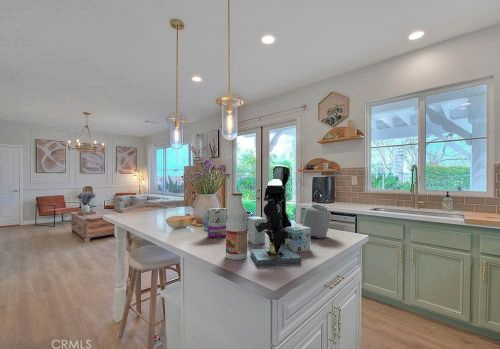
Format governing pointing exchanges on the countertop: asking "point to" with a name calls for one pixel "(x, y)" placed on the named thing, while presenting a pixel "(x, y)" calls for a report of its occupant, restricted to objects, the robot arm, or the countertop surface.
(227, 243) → the fruit juice
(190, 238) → the countertop surface
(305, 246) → the light bulb box
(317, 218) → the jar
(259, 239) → the small box
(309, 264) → the countertop surface
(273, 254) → the cylinder
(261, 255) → the jig
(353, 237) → the countertop surface
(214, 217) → the candy bar box
